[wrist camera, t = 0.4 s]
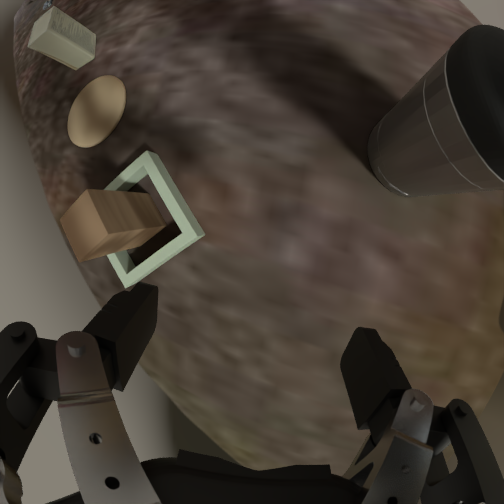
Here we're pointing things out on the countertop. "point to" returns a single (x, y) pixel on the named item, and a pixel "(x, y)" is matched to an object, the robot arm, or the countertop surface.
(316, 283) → the countertop surface
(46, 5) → the blueberries
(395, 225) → the countertop surface
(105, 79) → the coaster
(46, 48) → the skincare box
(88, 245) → the walnut block
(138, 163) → the holder
